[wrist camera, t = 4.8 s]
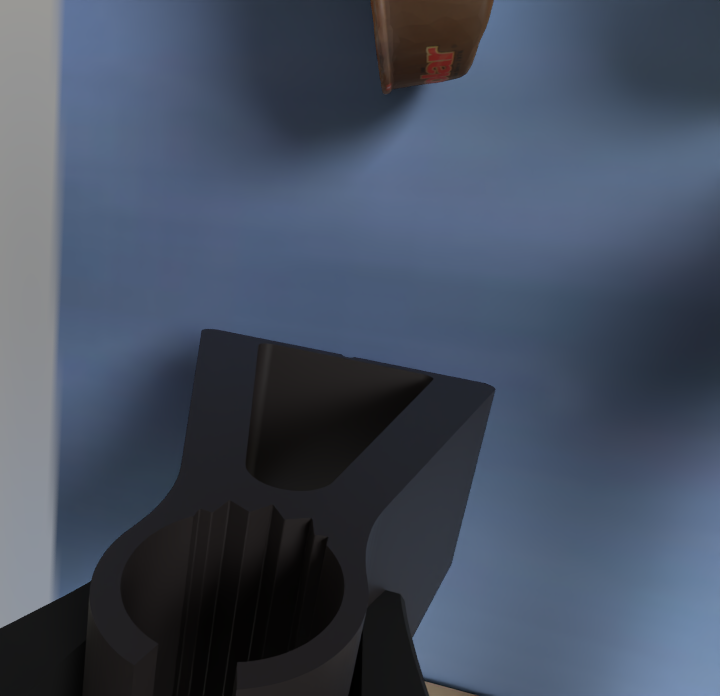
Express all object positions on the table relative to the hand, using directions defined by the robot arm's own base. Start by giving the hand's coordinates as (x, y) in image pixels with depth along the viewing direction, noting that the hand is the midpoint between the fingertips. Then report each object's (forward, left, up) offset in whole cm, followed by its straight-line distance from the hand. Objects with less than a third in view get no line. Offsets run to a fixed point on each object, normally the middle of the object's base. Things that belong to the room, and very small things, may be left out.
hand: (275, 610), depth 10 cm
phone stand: (0, 0, -8) cm, 8 cm away
